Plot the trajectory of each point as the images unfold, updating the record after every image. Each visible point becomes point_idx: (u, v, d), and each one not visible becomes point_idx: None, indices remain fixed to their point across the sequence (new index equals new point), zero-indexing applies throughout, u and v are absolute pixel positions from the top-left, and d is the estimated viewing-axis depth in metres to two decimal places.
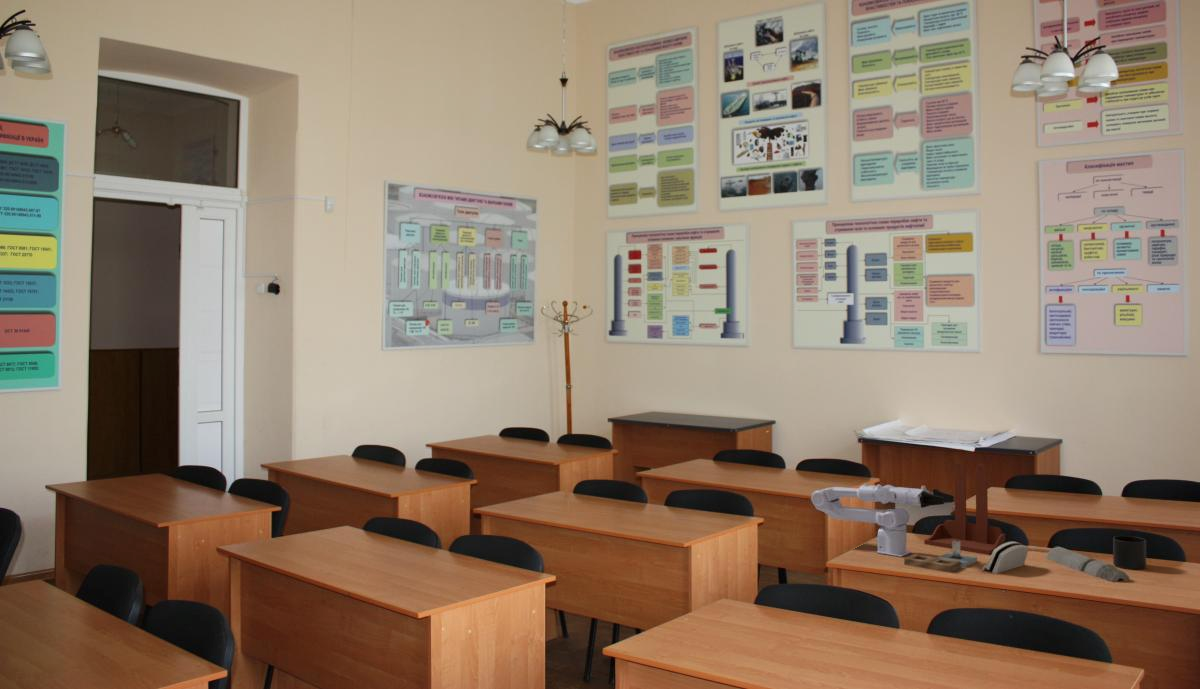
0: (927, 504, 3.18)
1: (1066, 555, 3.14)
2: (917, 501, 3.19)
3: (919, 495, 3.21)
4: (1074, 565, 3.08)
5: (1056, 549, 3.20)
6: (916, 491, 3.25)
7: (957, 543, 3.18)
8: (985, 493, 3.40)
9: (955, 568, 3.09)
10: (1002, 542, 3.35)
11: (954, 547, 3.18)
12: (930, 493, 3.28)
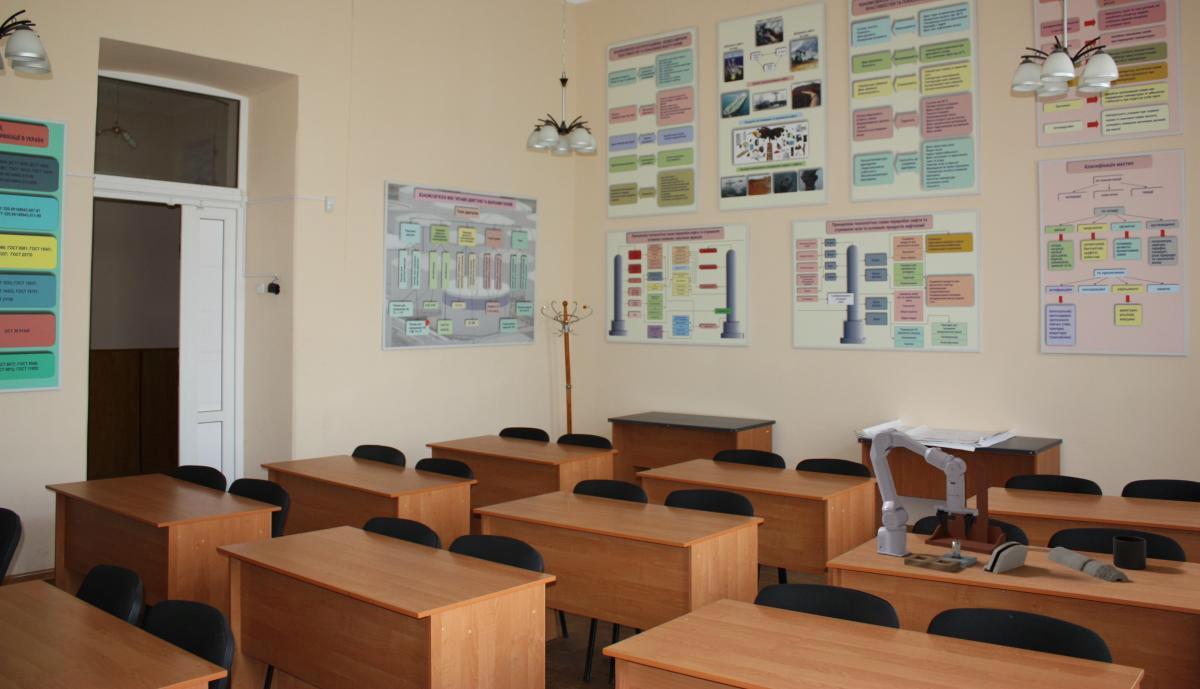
0: (969, 522, 3.14)
1: (1066, 555, 3.14)
2: (976, 514, 3.14)
3: None
4: (1074, 565, 3.08)
5: (1057, 549, 3.20)
6: None
7: (957, 543, 3.18)
8: (985, 493, 3.40)
9: (955, 568, 3.09)
10: (1003, 542, 3.35)
11: (954, 547, 3.18)
12: None
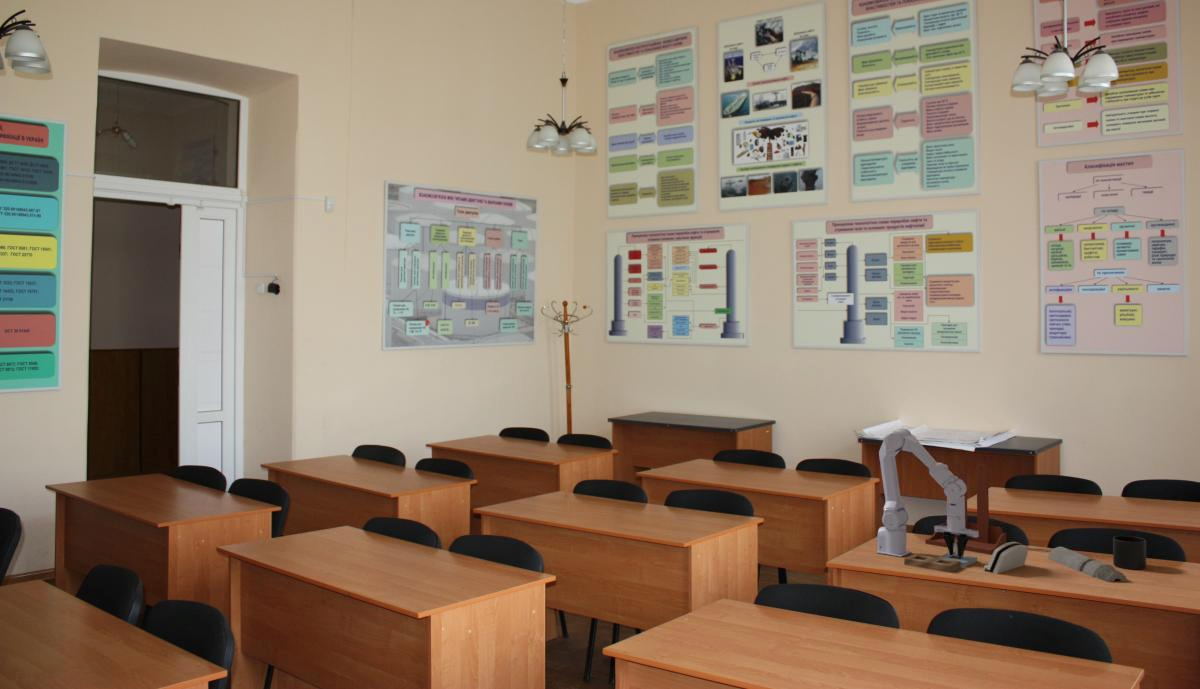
0: (963, 542, 3.16)
1: (1067, 555, 3.14)
2: (976, 536, 3.14)
3: None
4: (1073, 565, 3.08)
5: (1058, 549, 3.20)
6: None
7: (957, 543, 3.18)
8: (986, 493, 3.40)
9: (955, 568, 3.09)
10: (1003, 542, 3.35)
11: (954, 547, 3.18)
12: None
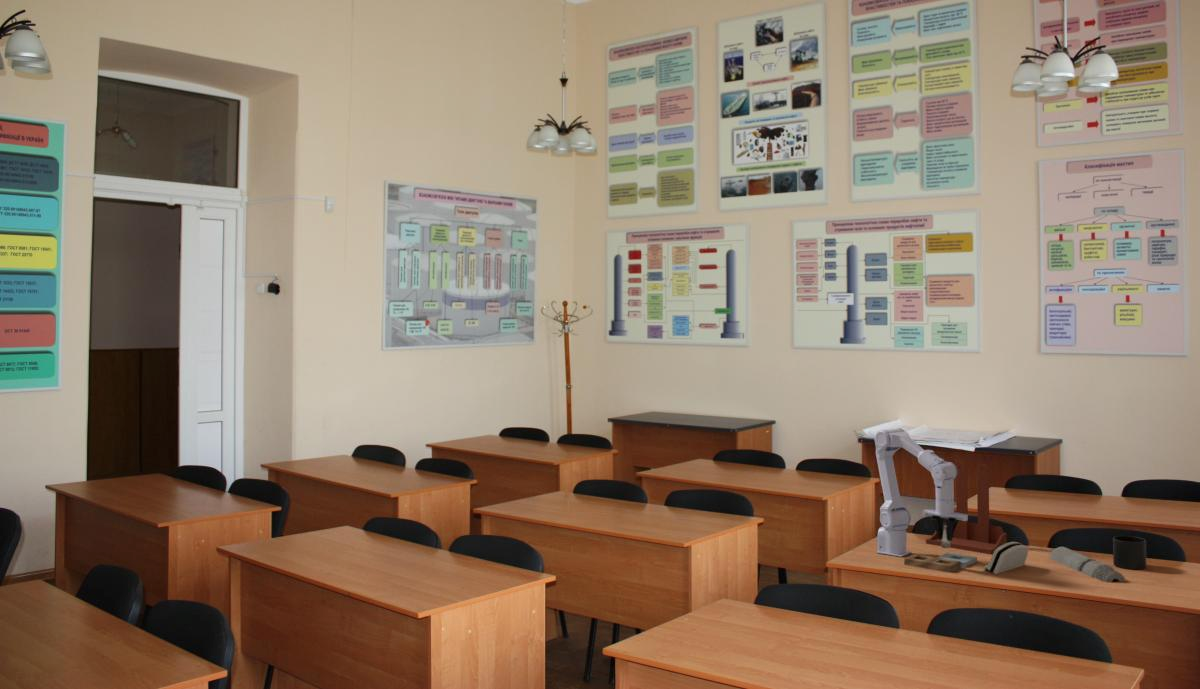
0: (952, 526, 3.09)
1: (1067, 555, 3.14)
2: (965, 519, 3.07)
3: None
4: (1073, 565, 3.08)
5: (1059, 549, 3.20)
6: None
7: (946, 528, 3.12)
8: (986, 493, 3.41)
9: (955, 568, 3.09)
10: (1004, 541, 3.36)
11: (943, 532, 3.12)
12: (933, 512, 3.16)
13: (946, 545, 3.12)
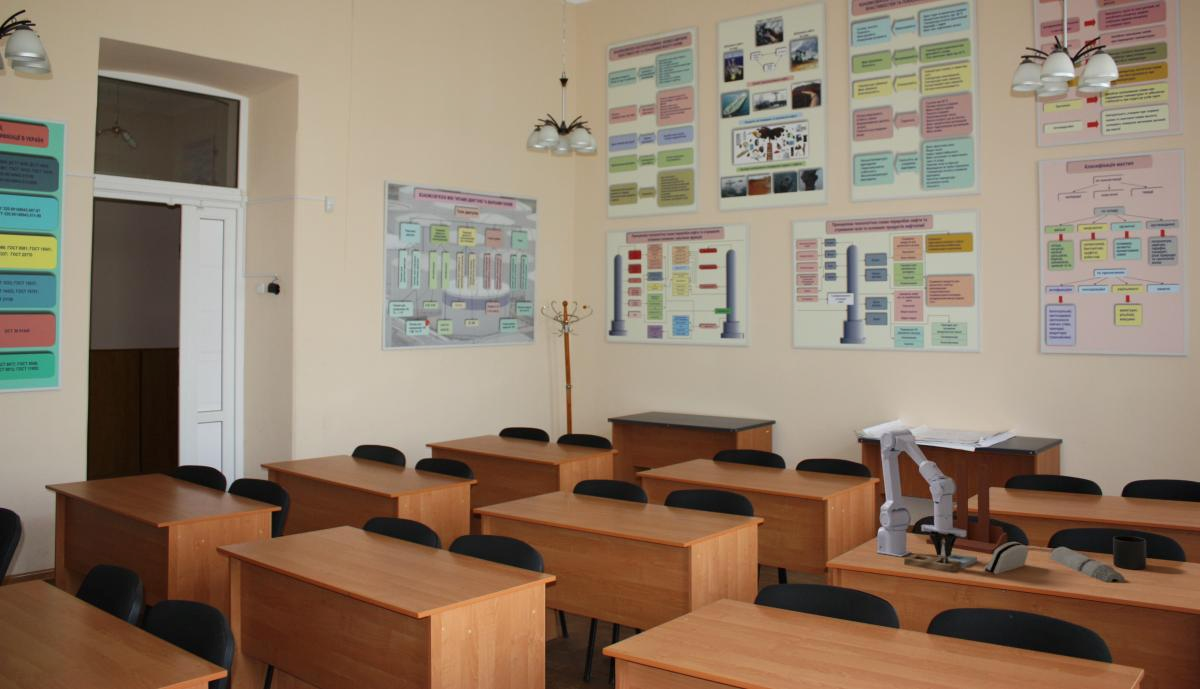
0: (950, 542, 3.09)
1: (1067, 555, 3.14)
2: (964, 535, 3.06)
3: None
4: (1073, 565, 3.08)
5: (1059, 549, 3.20)
6: None
7: (945, 544, 3.11)
8: (987, 492, 3.41)
9: (955, 568, 3.09)
10: (1004, 541, 3.36)
11: (942, 548, 3.11)
12: (931, 527, 3.16)
13: (944, 561, 3.11)
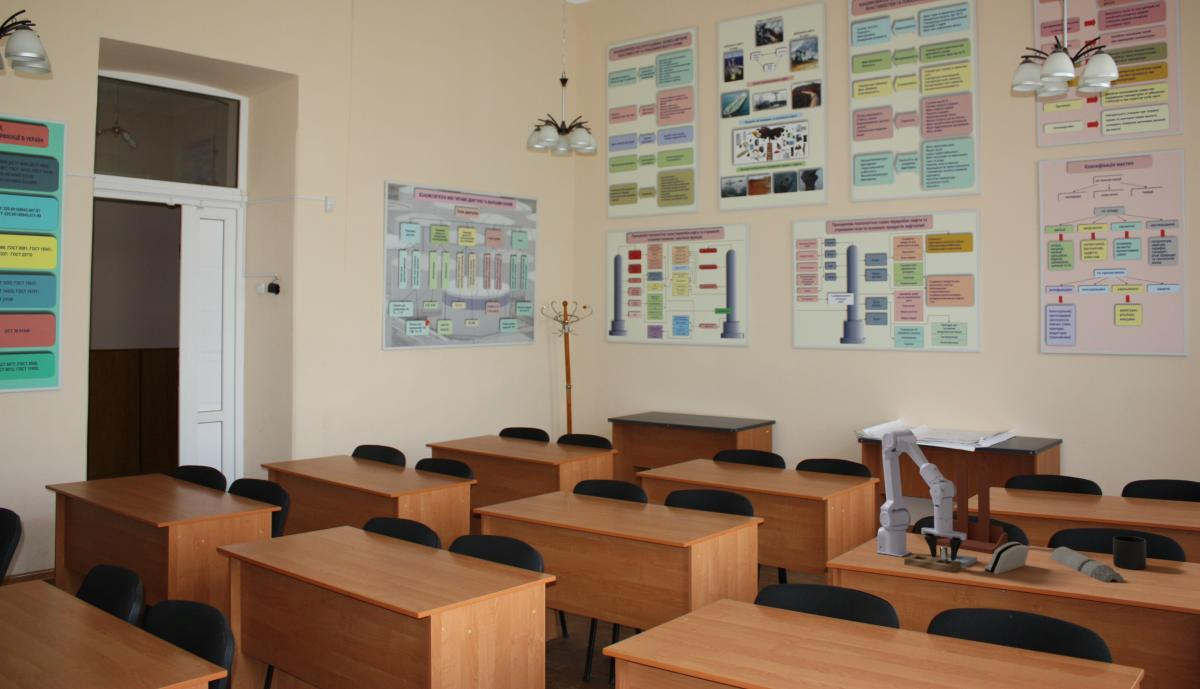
0: (956, 546, 3.08)
1: (1067, 555, 3.14)
2: (964, 538, 3.06)
3: None
4: (1073, 565, 3.08)
5: (1060, 549, 3.20)
6: None
7: (945, 548, 3.11)
8: (987, 492, 3.41)
9: (955, 568, 3.09)
10: (1004, 541, 3.36)
11: (942, 553, 3.11)
12: (931, 530, 3.16)
13: None
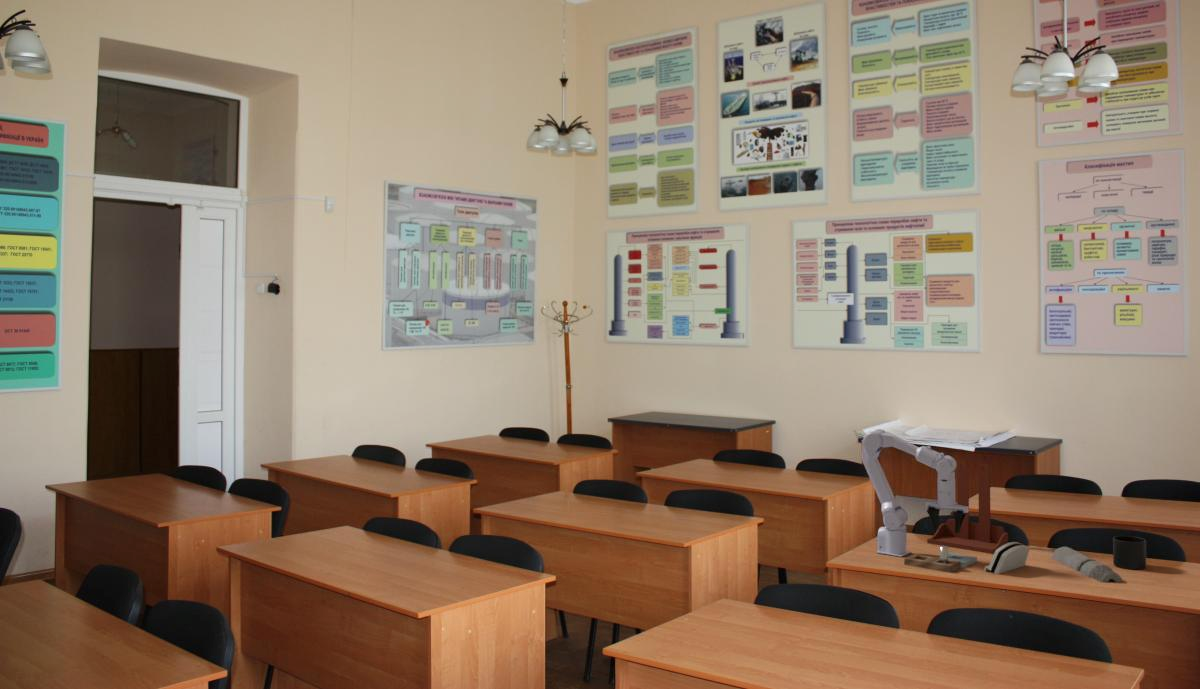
0: (960, 519, 3.18)
1: (1068, 555, 3.14)
2: (966, 511, 3.17)
3: None
4: (1073, 565, 3.08)
5: (1061, 549, 3.20)
6: None
7: (945, 548, 3.11)
8: (988, 492, 3.41)
9: (955, 568, 3.09)
10: (1005, 541, 3.36)
11: (942, 553, 3.11)
12: None
13: None
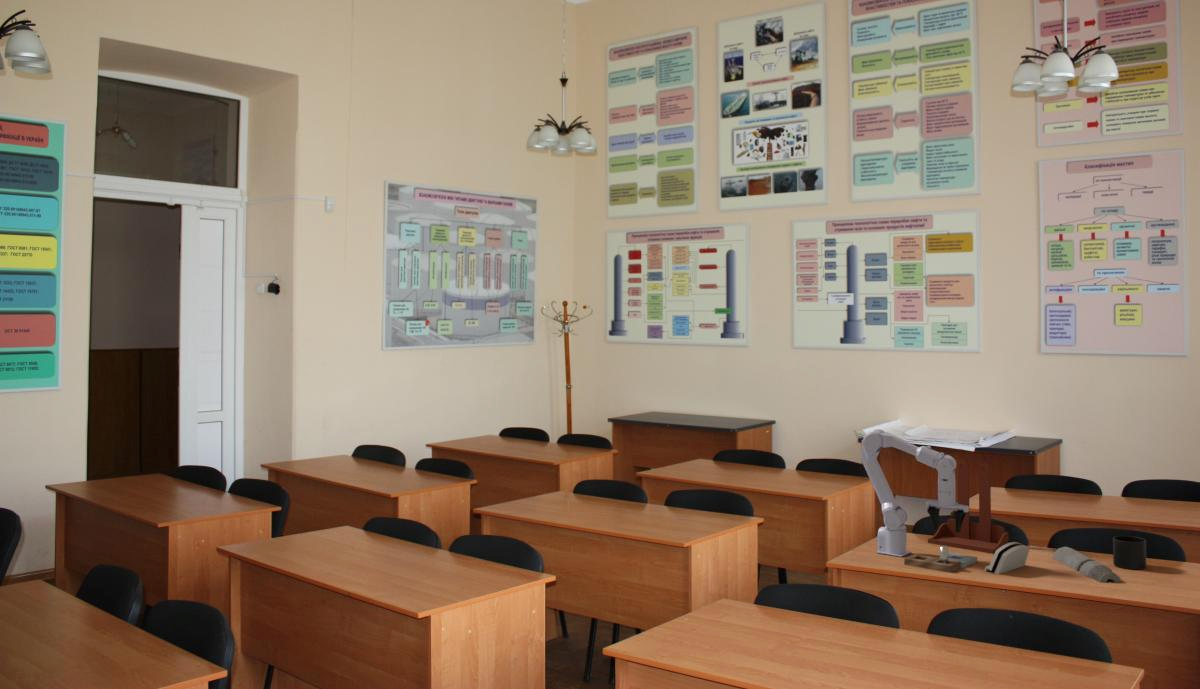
0: (960, 518, 3.18)
1: (1068, 555, 3.14)
2: (967, 511, 3.18)
3: None
4: (1072, 565, 3.08)
5: (1062, 549, 3.20)
6: None
7: (945, 548, 3.11)
8: (988, 492, 3.42)
9: (955, 568, 3.09)
10: (1005, 541, 3.37)
11: (942, 553, 3.11)
12: None
13: None
